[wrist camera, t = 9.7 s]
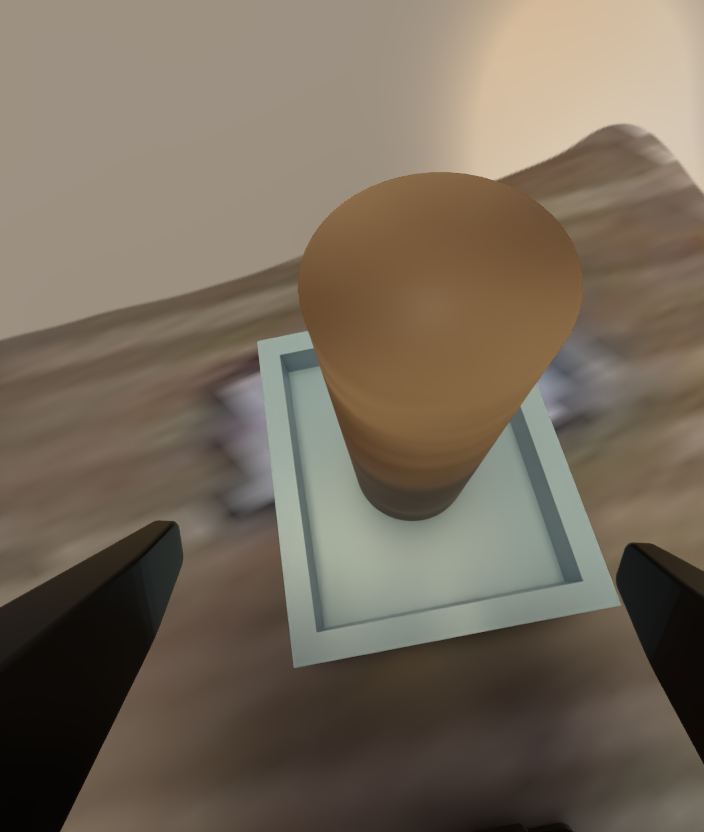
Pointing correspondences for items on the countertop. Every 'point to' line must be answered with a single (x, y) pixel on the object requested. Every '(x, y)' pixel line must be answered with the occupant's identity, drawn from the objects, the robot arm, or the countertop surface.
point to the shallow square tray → (418, 531)
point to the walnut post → (434, 326)
